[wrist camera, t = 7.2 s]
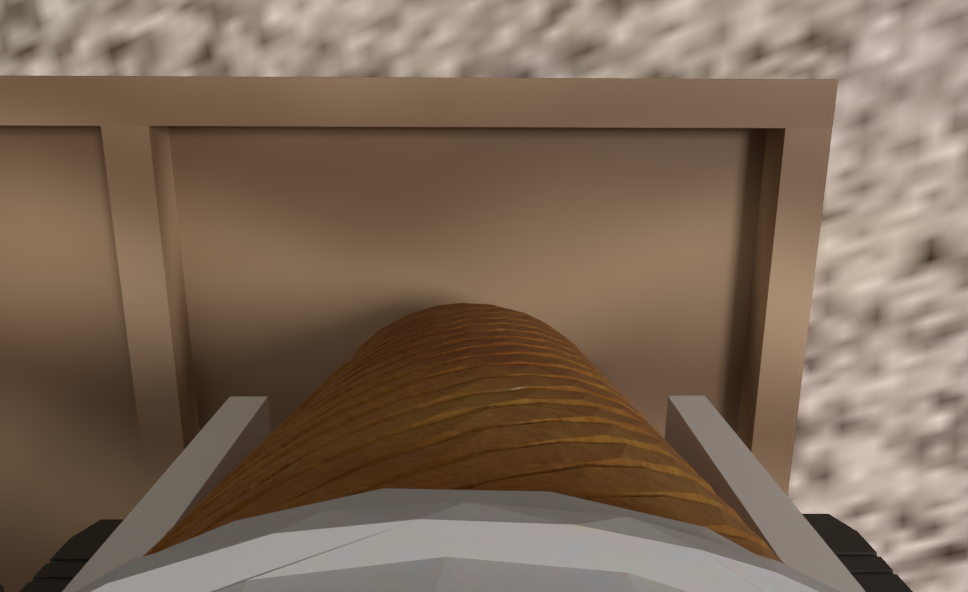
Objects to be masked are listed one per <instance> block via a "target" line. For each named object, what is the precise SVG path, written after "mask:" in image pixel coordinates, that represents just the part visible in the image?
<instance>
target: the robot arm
mask: <svg viewBox="0 0 968 592" xmlns="http://www.w3.org/2000/svg"><path fill="white" fill-rule="evenodd" d="M270 433H271V432H270V418H269V405H268V396H235V397H229V398H228V400H227V401H226V402H225V403H224V404H223V405H222V406H221V408H220V409H219V410H218V411H217V412H216V413H215V415H214V416H213V417H212V418H211V419H210V420H209V422H208V423H207V424H206V425H205V426H204V427H203V429H202V430H201V431H200V432H199V433H198V434H197V436H196V437H195V438H194V439H193V440H192V441H191V442H190V444H189V445H188V446H187V447H186V448H185V449H184V451H183V452H182V453H181V454H180V455H179V456H178V458H177V459H176V460H175V461H174V462H173V463H172V465H171V466H170V467H169V468H168V469H167V470H166V472H165V473H164V474H163V475H162V476H161V477H160V478H159V480H158V481H157V482H156V483H155V484H154V485H153V487H152V488H151V489H150V490H149V491H148V492H147V494H146V495H145V496H144V497H143V498H142V499H141V501H140V502H139V503H138V504H137V505H136V506H135V508H134V509H133V510H132V511H131V512H130V513H129V514H128V516H127V517H126V518H125V519H101V520H99V521H97V522H96V523H94V524H92V525H91V526H89V527H87V528H86V529H84V530H83V531H81V532H79V533H78V534H76V535H74V536H73V537H71V538H70V539H69V540H68V541H67V542H66V543H65V544H64V545H63V546H62V547H61V548H60V549H59V550H58V551H57V553H56V554H55V555H54V556H53V557H52V558H51V559H50V563H49V564H45V565H44V566H43V567H42V568H41V569H40V570H39V571H38V573H37V574H36V575H35V576H34V577H33V581H32V582H28V583H27V584H26V585H25V586H24V587H23V588H22V589H21V590H20V591H19V592H75V591H77V590H79V589H80V588H82V587H84V586H86V585H87V584H89V583H91V582H93V581H94V580H96V579H98V578H100V577H101V576H103V575H105V574H107V573H108V572H110V571H112V570H114V569H115V568H117V567H119V566H121V565H122V564H124V563H126V562H128V561H129V560H132V559H135V558H139V557H143V556H144V555H145V554H146V553H147V552H148V551H149V550H150V549H151V548H152V547H153V546H154V545H155V544H157V543H158V542H159V541H160V540H161V539H162V538H163V537H164V536H165V534H166V533H167V532H168V531H169V530H170V529H171V528H172V527H174V526H175V525H176V524H177V523H178V522H179V521H180V520H181V519H182V518H183V517H184V516H185V515H187V514H188V513H189V512H190V511H191V510H192V509H193V508H194V507H195V505H196V504H197V503H198V502H199V501H201V500H202V499H203V498H204V497H205V496H206V495H207V494H208V493H209V492H210V491H211V490H212V489H214V488H215V487H216V486H217V485H218V484H219V482H220V481H221V480H222V479H223V478H224V477H225V476H227V475H228V474H229V473H230V472H231V471H232V470H233V469H234V468H235V467H236V466H237V465H239V464H240V462H241V461H242V460H243V459H244V458H245V457H246V456H247V455H248V454H249V453H250V452H252V451H253V450H254V449H255V448H256V447H257V446H258V445H259V444H260V443H261V442H262V441H263V440H264V439H265V438H266V437H267V436H268V435H269V434H270ZM665 440H666V441H667V442H668V443H669V444H670V445H671V446H672V447H673V448H674V449H675V451H676V452H677V453H678V454H679V455H680V456H681V457H682V458H683V459H684V460H685V461H686V462H687V463H688V464H689V465H690V466H691V467H692V468H693V469H694V470H695V471H696V473H697V474H698V475H699V476H701V477H702V478H704V479H705V480H706V481H707V482H708V483H709V484H710V486H711V487H712V488H713V490H714V491H715V493H716V494H717V495H718V497H720V498H721V499H723V500H724V501H725V502H726V503H727V504H728V505H729V506H730V507H732V508H733V509H734V510H735V511H736V513H737V514H738V515H739V516H740V518H741V519H742V520H743V521H744V523H745V524H746V525H748V526H749V527H750V528H751V529H752V530H753V531H754V532H755V533H756V534H757V535H759V536H760V537H761V538H762V539H763V540H764V541H765V543H766V544H767V545H768V546H769V548H770V549H771V550H772V552H773V553H774V554H775V555H776V556H777V557H778V558H779V559H780V560H781V561H782V562H783V563H784V564H785V565H787V566H789V567H791V568H793V569H795V570H797V571H799V572H801V573H803V574H805V575H807V576H809V577H811V578H813V579H815V580H817V581H819V582H821V583H823V584H825V585H827V586H829V587H831V588H833V589H835V590H838V591H840V592H912V591H911V589H910V588H909V587H908V586H907V585H906V584H905V583H904V582H903V581H902V580H901V579H900V578H899V576H898V575H897V574H893V572H892V569H891V568H890V567H889V566H888V564H887V563H886V562H885V561H884V560H883V559H882V558H881V557H877V552H876V551H875V550H874V549H873V548H872V547H871V546H870V545H869V544H868V543H867V542H866V540H865V539H864V538H863V537H862V536H861V535H860V534H859V533H858V532H857V531H855V530H854V529H852V528H851V527H849V526H847V525H846V524H844V523H842V522H841V521H839V520H838V519H836V518H834V517H833V516H831V515H829V514H802V513H801V512H800V511H799V510H798V509H797V507H796V506H795V505H794V504H793V502H792V501H791V500H790V499H789V498H788V496H787V495H786V494H785V493H784V491H783V490H782V489H781V488H780V487H779V485H778V484H777V483H776V482H775V481H774V479H773V478H772V477H771V476H770V474H769V473H768V472H767V471H766V470H765V468H764V467H763V466H762V465H761V463H760V462H759V461H758V460H757V459H756V457H755V456H754V455H753V454H752V452H751V451H750V450H749V449H748V448H747V446H746V445H745V444H744V443H743V441H742V440H741V439H740V438H739V437H738V435H737V434H736V433H735V432H734V431H733V429H732V428H731V427H730V426H729V424H728V423H727V422H726V421H725V420H724V418H723V417H722V416H721V415H720V413H719V412H718V411H717V410H716V409H715V407H714V406H713V405H712V404H711V402H710V401H709V400H708V399H707V398H706V396H668V399H667V413H666V427H665ZM0 592H5V591H4V586H2V585H1V584H0Z"/></svg>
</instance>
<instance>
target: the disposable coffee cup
mask: <svg viewBox="0 0 968 592" xmlns="http://www.w3.org/2000/svg"><path fill="white" fill-rule="evenodd" d="M75 592H840V591H838V590H835V589H833V588H831V587H829V586H827V585H825V584H823V583H821V582H819V581H817V580H815V579H813V578H811V577H809V576H807V575H805V574H803V573H801V572H799V571H797V570H795V569H793V568H791V567H789V566H787V565H785V564H784V563H783V562H782V561H781V560H780V559H779V558H778V557H777V556H776V555H775V554H774V553H773V552H772V550H771V549H770V548H769V546H768V545H767V544H766V543H765V541H764V540H763V539H762V538H761V537H760V536H759V535H757V534H756V533H755V532H754V531H753V530H752V529H751V528H750V527H749V526H748V525H746V524H745V523H744V521H743V520H742V519H741V518H740V516H739V515H738V514H737V513H736V511H735V510H734V509H733V508H732V507H730V506H729V505H728V504H727V503H726V502H725V501H724V500H723V499H721V498H720V497H718V495H717V494H716V493H715V491H714V490H713V488H712V487H711V486H710V484H709V483H708V482H707V481H706V480H705V479H704V478H702V477H701V476H699V475H698V474H697V473H696V471H695V470H694V469H693V468H692V467H691V466H690V465H689V464H688V463H687V462H686V461H685V460H684V459H683V458H682V457H681V456H680V455H679V454H678V453H677V452H676V451H675V449H674V448H673V447H672V446H671V445H670V444H669V443H668V442H667V441H666V440H665V439H664V438H663V437H662V436H661V435H660V433H659V432H658V431H657V430H656V429H655V428H654V427H653V426H652V425H651V424H649V422H648V421H647V420H646V419H645V418H644V416H643V415H642V414H641V413H640V412H638V411H637V410H636V409H635V408H634V407H633V406H632V405H631V403H630V402H629V401H628V400H627V399H626V398H625V397H624V396H622V395H621V393H620V392H619V391H618V390H617V389H616V388H615V387H614V386H612V384H611V383H610V382H609V381H608V380H607V379H606V378H605V377H604V376H603V375H602V374H601V373H600V372H599V370H598V369H597V368H595V367H594V366H593V364H592V363H591V362H590V361H589V360H588V359H587V358H586V357H585V356H584V355H583V353H582V352H581V351H580V350H579V349H578V348H577V346H576V345H575V344H574V343H572V342H571V341H570V340H568V339H567V338H566V337H564V336H563V335H562V334H561V333H559V332H558V331H556V330H555V329H554V328H552V327H551V326H549V325H548V324H546V323H544V322H542V321H540V320H538V319H536V318H534V317H532V316H530V315H528V314H526V313H523V312H519V311H515V310H511V309H507V308H503V307H499V306H495V305H491V304H472V303H456V304H447V305H438V306H433V307H430V308H427V309H424V310H421V311H417V312H414V313H411V314H408V315H406V316H404V317H402V318H400V319H398V320H396V321H394V322H393V323H391V324H389V325H387V326H385V327H383V328H381V329H380V330H379V331H378V332H376V333H375V334H374V335H373V336H372V337H370V338H369V339H368V340H367V341H366V342H364V343H363V344H362V345H361V346H360V347H359V348H358V349H357V350H356V351H355V352H354V354H353V355H352V356H351V357H350V358H349V359H347V360H346V361H345V362H344V363H343V364H342V365H341V366H340V367H339V368H338V369H337V370H336V371H335V372H334V373H333V374H332V375H331V376H330V377H329V378H328V379H327V380H326V381H325V382H324V383H322V384H321V385H320V386H319V387H318V388H317V389H316V390H315V391H314V392H313V393H312V394H311V395H310V396H309V397H308V398H307V399H306V400H305V401H304V402H303V403H302V404H300V405H299V406H298V407H297V408H296V409H295V410H294V411H293V412H292V413H291V414H290V415H289V416H288V417H287V418H286V419H285V420H284V421H283V422H281V423H280V424H279V426H278V427H277V428H276V429H275V430H274V431H272V432H271V433H270V434H269V435H268V436H267V437H266V438H265V439H264V440H263V441H262V442H261V443H260V444H259V445H258V446H257V447H256V448H255V449H254V450H253V451H252V452H250V453H249V454H248V455H247V456H246V457H245V458H244V459H243V460H242V461H241V462H240V464H239V465H237V466H236V467H235V468H234V469H233V470H232V471H231V472H230V473H229V474H228V475H227V476H225V477H224V478H223V479H222V480H221V481H220V482H219V484H218V485H217V486H216V487H215V488H214V489H212V490H211V491H210V492H209V493H208V494H207V495H206V496H205V497H204V498H203V499H202V500H201V501H199V502H198V503H197V504H196V505H195V507H194V508H193V509H192V510H191V511H190V512H189V513H188V514H187V515H185V516H184V517H183V518H182V519H181V520H180V521H179V522H178V523H177V524H176V525H175V526H174V527H172V528H171V529H170V530H169V531H168V532H167V533H166V534H165V536H164V537H163V538H162V539H161V540H160V541H159V542H158V543H157V544H155V545H154V546H153V547H152V548H151V549H150V550H149V551H148V552H147V553H146V554H145V555H144V556H143V557H139V558H135V559H132V560H129V561H128V562H126V563H124V564H122V565H121V566H119V567H117V568H115V569H114V570H112V571H110V572H108V573H107V574H105V575H103V576H101V577H100V578H98V579H96V580H94V581H93V582H91V583H89V584H87V585H86V586H84V587H82V588H80V589H79V590H77V591H75Z"/></svg>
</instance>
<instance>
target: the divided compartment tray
mask: <svg viewBox="0 0 968 592" xmlns="http://www.w3.org/2000/svg"><path fill="white" fill-rule="evenodd" d="M837 85H838V79H621V78H402V77H182V76H0V584H1V585H2V586H4V591H5V592H19V591H20V590H21V589H22V588H23V587H24V586H25V585H26V584H27V583H28V582H32V581H33V577H34V576H35V575H36V574H37V573H38V571H39V570H40V569H41V568H42V567H43V566H44V565H45V564H49V563H50V559H51V558H52V557H53V556H54V555H55V554H56V553H57V551H58V550H59V549H60V548H61V547H62V546H63V545H64V544H65V543H66V542H67V541H68V540H69V539H70V538H71V537H73V536H74V535H76V534H78V533H79V532H81V531H83V530H84V529H86V528H87V527H89V526H91V525H92V524H94V523H96V522H97V521H99V520H101V519H125V518H126V517H127V516H128V514H129V513H130V512H131V511H132V510H133V509H134V508H135V506H136V505H137V504H138V503H139V502H140V501H141V499H142V498H143V497H144V496H145V495H146V494H147V492H148V491H149V490H150V489H151V488H152V487H153V485H154V484H155V483H156V482H157V481H158V480H159V478H160V477H161V476H162V475H163V474H164V473H165V472H166V470H167V469H168V468H169V467H170V466H171V465H172V463H173V462H174V461H175V460H176V459H177V458H178V456H179V455H180V454H181V453H182V452H183V451H184V449H185V448H186V447H187V446H188V445H189V444H190V442H191V441H192V440H193V439H194V438H195V437H196V436H197V434H198V433H199V432H200V431H201V430H202V429H203V427H204V426H205V425H206V424H207V423H208V422H209V420H210V419H211V418H212V417H213V416H214V415H215V413H216V412H217V411H218V410H219V409H220V408H221V406H222V405H223V404H224V403H225V402H226V401H227V400H228V398H229V397H235V396H268V405H269V418H270V432H272V431H274V430H275V429H276V428H277V427H278V426H279V424H280V423H281V422H283V421H284V420H285V419H286V418H287V417H288V416H289V415H290V414H291V413H292V412H293V411H294V410H295V409H296V408H297V407H298V406H299V405H300V404H302V403H303V402H304V401H305V400H306V399H307V398H308V397H309V396H310V395H311V394H312V393H313V392H314V391H315V390H316V389H317V388H318V387H319V386H320V385H321V384H322V383H324V382H325V381H326V380H327V379H328V378H329V377H330V376H331V375H332V374H333V373H334V372H335V371H336V370H337V369H338V368H339V367H340V366H341V365H342V364H343V363H344V362H345V361H346V360H347V359H349V358H350V357H351V356H352V355H353V354H354V352H355V351H356V350H357V349H358V348H359V347H360V346H361V345H362V344H363V343H364V342H366V341H367V340H368V339H369V338H370V337H372V336H373V335H374V334H375V333H376V332H378V331H379V330H380V329H381V328H383V327H385V326H387V325H389V324H391V323H393V322H394V321H396V320H398V319H400V318H402V317H404V316H406V315H408V314H411V313H414V312H417V311H421V310H424V309H427V308H430V307H433V306H438V305H447V304H456V303H472V304H491V305H495V306H499V307H503V308H507V309H511V310H515V311H519V312H523V313H526V314H528V315H530V316H532V317H534V318H536V319H538V320H540V321H542V322H544V323H546V324H548V325H549V326H551V327H552V328H554V329H555V330H556V331H558V332H559V333H561V334H562V335H563V336H564V337H566V338H567V339H568V340H570V341H571V342H572V343H574V344H575V345H576V346H577V348H578V349H579V350H580V351H581V352H582V353H583V355H584V356H585V357H586V358H587V359H588V360H589V361H590V362H591V363H592V364H593V366H594V367H595V368H597V369H598V370H599V372H600V373H601V374H602V375H603V376H604V377H605V378H606V379H607V380H608V381H609V382H610V383H611V384H612V386H614V387H615V388H616V389H617V390H618V391H619V392H620V393H621V395H622V396H624V397H625V398H626V399H627V400H628V401H629V402H630V403H631V405H632V406H633V407H634V408H635V409H636V410H637V411H638V412H640V413H641V414H642V415H643V416H644V418H645V419H646V420H647V421H648V422H649V424H651V425H652V426H653V427H654V428H655V429H656V430H657V431H658V432H659V433H660V435H661V436H662V437H663V438H664V439H665V427H666V413H667V399H668V396H706V398H707V399H708V400H709V401H710V402H711V404H712V405H713V406H714V407H715V409H716V410H717V411H718V412H719V413H720V415H721V416H722V417H723V418H724V420H725V421H726V422H727V423H728V424H729V426H730V427H731V428H732V429H733V431H734V432H735V433H736V434H737V435H738V437H739V438H740V439H741V440H742V441H743V443H744V444H745V445H746V446H747V448H748V449H749V450H750V451H751V452H752V454H753V455H754V456H755V457H756V459H757V460H758V461H759V462H760V463H761V465H762V466H763V467H764V468H765V470H766V471H767V472H768V473H769V474H770V476H771V477H772V478H773V479H774V481H775V482H776V483H777V484H778V485H779V487H780V488H781V489H782V490H783V491H784V493H785V494H786V495H787V496H788V488H789V480H790V472H791V463H792V455H793V447H794V439H795V431H796V422H797V414H798V406H799V398H800V389H801V381H802V373H803V365H804V356H805V348H806V340H807V332H808V324H809V315H810V307H811V299H812V291H813V282H814V274H815V266H816V258H817V249H818V241H819V233H820V225H821V217H822V208H823V200H824V192H825V184H826V175H827V167H828V159H829V151H830V142H831V134H832V126H833V118H834V110H835V101H836V93H837Z"/></svg>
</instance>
